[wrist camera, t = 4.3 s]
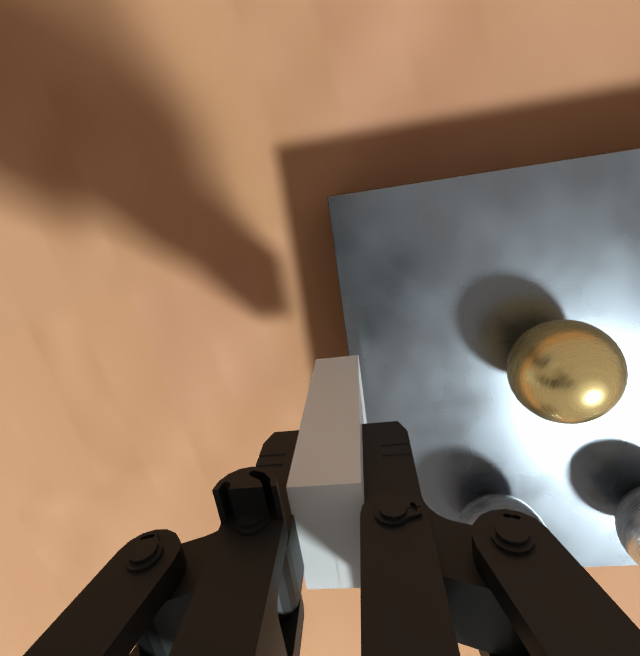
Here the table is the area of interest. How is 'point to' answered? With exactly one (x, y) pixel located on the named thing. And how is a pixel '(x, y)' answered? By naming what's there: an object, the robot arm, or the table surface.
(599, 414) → the brass ball
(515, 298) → the hole plate
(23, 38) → the table surface
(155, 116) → the table surface
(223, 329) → the table surface
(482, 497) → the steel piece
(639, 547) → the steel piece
